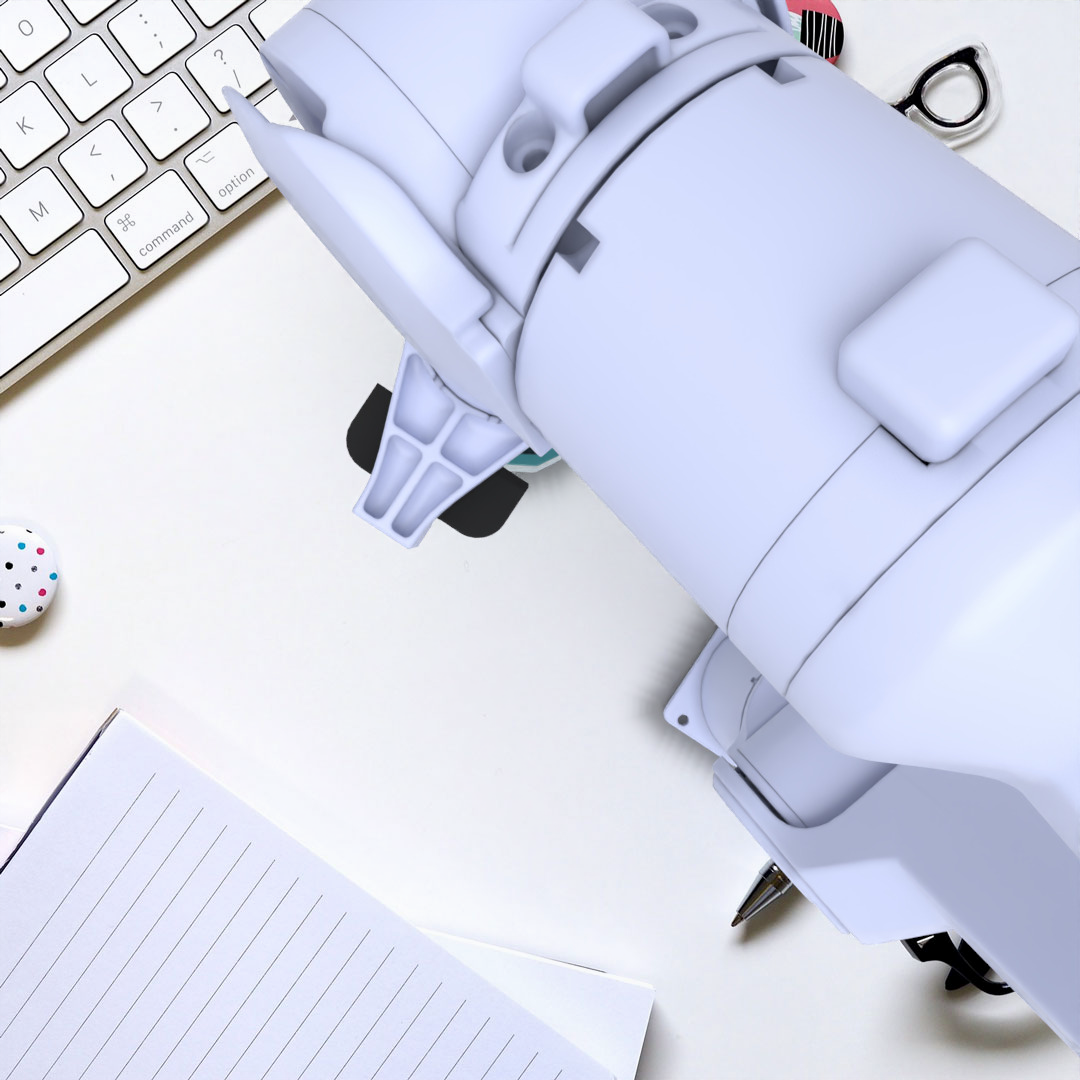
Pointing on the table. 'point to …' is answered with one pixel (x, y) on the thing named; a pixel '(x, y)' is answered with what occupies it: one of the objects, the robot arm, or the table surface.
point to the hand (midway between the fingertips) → (521, 369)
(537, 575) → the table surface
